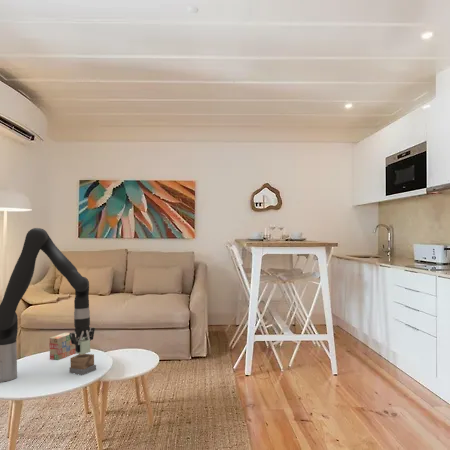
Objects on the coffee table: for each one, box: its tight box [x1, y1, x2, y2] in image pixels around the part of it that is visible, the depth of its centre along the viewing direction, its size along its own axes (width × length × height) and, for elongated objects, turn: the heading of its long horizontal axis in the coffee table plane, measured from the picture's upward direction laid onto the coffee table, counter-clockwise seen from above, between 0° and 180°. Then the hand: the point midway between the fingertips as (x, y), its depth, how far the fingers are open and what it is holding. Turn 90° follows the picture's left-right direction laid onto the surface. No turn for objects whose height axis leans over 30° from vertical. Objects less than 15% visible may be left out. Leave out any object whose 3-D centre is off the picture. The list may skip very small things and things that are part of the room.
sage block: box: [75, 338, 91, 355], centre depth 208 cm, size 5×5×6 cm
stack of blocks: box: [48, 332, 85, 361], centre depth 239 cm, size 21×6×12 cm, turn 158°
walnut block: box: [70, 353, 95, 369], centre depth 208 cm, size 8×8×5 cm
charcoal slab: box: [68, 364, 97, 376], centre depth 208 cm, size 9×9×3 cm
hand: (82, 350), depth 208 cm, fingers closed on sage block, 5 cm apart
